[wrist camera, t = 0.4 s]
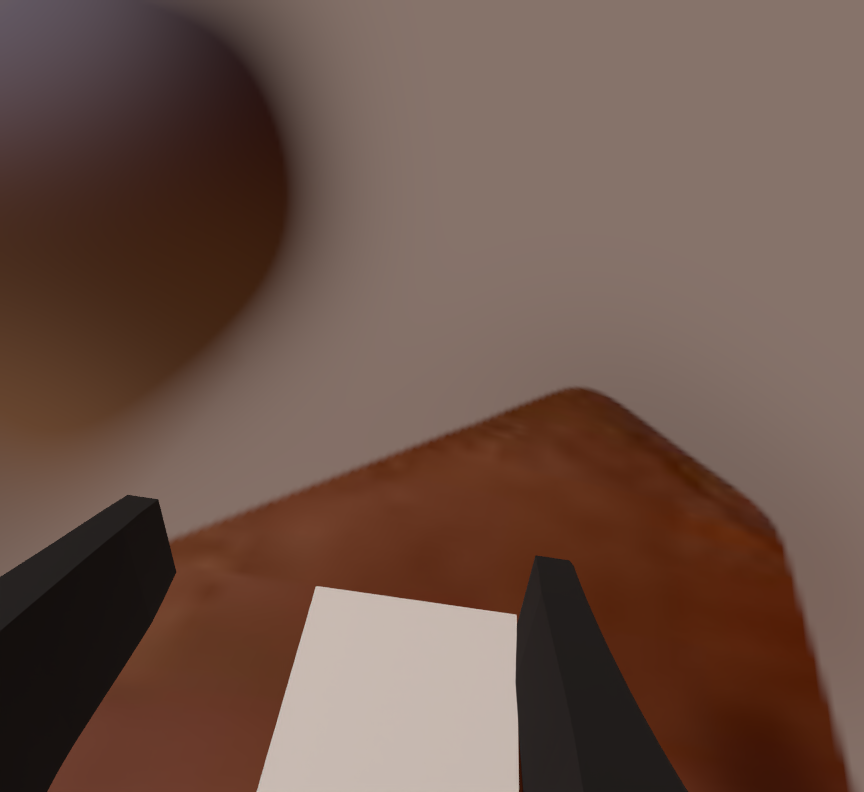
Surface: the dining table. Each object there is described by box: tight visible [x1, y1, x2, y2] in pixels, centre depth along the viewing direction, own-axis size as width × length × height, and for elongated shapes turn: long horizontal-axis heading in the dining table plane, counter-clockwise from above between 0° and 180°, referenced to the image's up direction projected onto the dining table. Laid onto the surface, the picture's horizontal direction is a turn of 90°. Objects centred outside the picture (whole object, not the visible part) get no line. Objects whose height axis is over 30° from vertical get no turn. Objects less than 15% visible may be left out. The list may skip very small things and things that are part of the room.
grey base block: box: [257, 586, 519, 792], centre depth 24 cm, size 10×10×4 cm
